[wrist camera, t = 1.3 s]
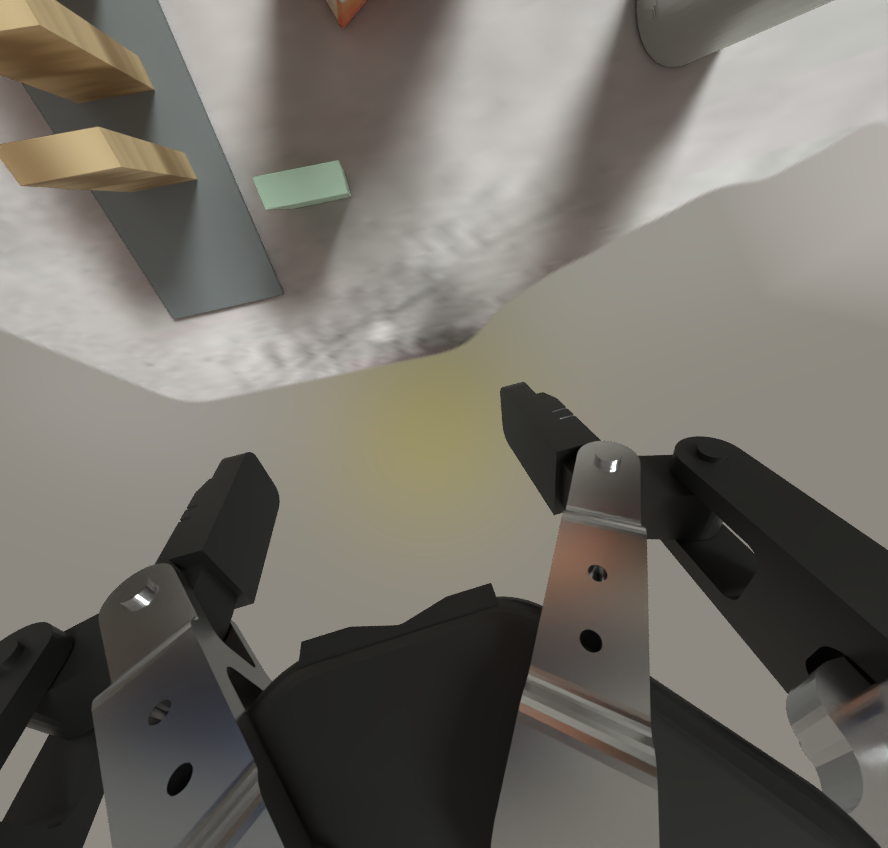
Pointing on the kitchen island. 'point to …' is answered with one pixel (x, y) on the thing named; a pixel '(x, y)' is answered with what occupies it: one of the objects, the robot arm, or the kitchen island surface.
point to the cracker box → (345, 9)
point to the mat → (177, 205)
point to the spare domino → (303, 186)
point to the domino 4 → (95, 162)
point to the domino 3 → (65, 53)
